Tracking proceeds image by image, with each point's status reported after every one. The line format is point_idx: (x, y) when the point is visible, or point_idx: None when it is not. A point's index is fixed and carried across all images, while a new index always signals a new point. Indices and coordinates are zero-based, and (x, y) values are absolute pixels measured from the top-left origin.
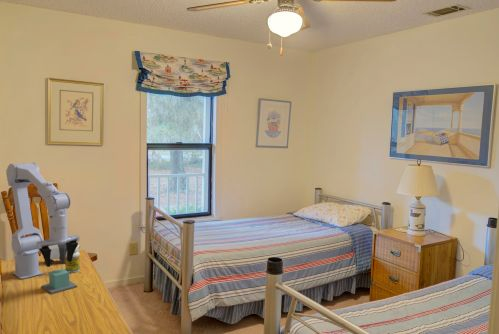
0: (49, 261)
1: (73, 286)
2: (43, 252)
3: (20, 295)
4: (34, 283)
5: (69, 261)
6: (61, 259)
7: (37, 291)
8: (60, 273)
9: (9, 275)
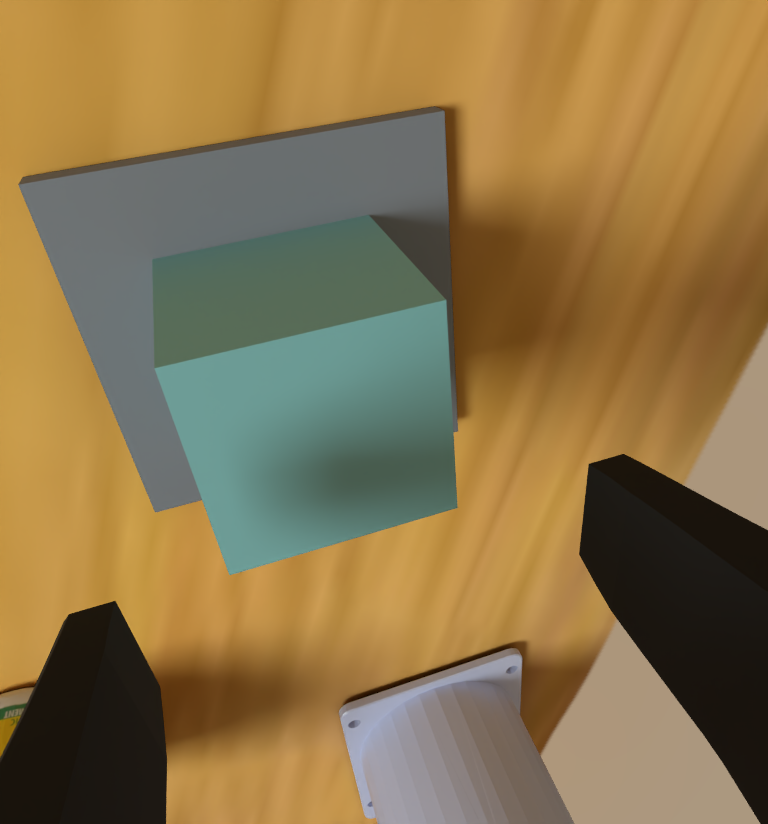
0: (706, 530)
1: (90, 171)
2: None
3: (684, 290)
4: (466, 535)
5: (121, 621)
6: None
7: (526, 313)
8: (327, 373)
9: (540, 726)
